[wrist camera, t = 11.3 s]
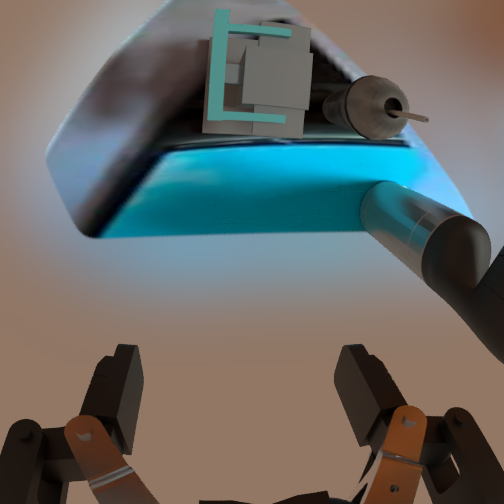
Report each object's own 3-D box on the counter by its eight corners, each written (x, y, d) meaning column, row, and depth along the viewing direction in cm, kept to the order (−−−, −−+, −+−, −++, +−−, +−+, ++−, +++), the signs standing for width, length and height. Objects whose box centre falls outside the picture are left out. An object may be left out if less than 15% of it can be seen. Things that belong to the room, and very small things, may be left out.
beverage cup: (338, 74, 38) (421, 52, 20) (370, 113, 41) (462, 120, 23) (301, 105, 40) (367, 97, 21) (335, 144, 42) (415, 167, 24)
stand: (289, 46, 36) (314, 23, 25) (281, 137, 41) (305, 144, 30) (209, 40, 35) (207, 11, 24) (202, 132, 40) (197, 136, 29)
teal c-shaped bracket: (289, 30, 26) (301, 16, 21) (283, 124, 30) (294, 125, 25) (215, 25, 25) (215, 9, 20) (208, 120, 29) (207, 120, 24)
